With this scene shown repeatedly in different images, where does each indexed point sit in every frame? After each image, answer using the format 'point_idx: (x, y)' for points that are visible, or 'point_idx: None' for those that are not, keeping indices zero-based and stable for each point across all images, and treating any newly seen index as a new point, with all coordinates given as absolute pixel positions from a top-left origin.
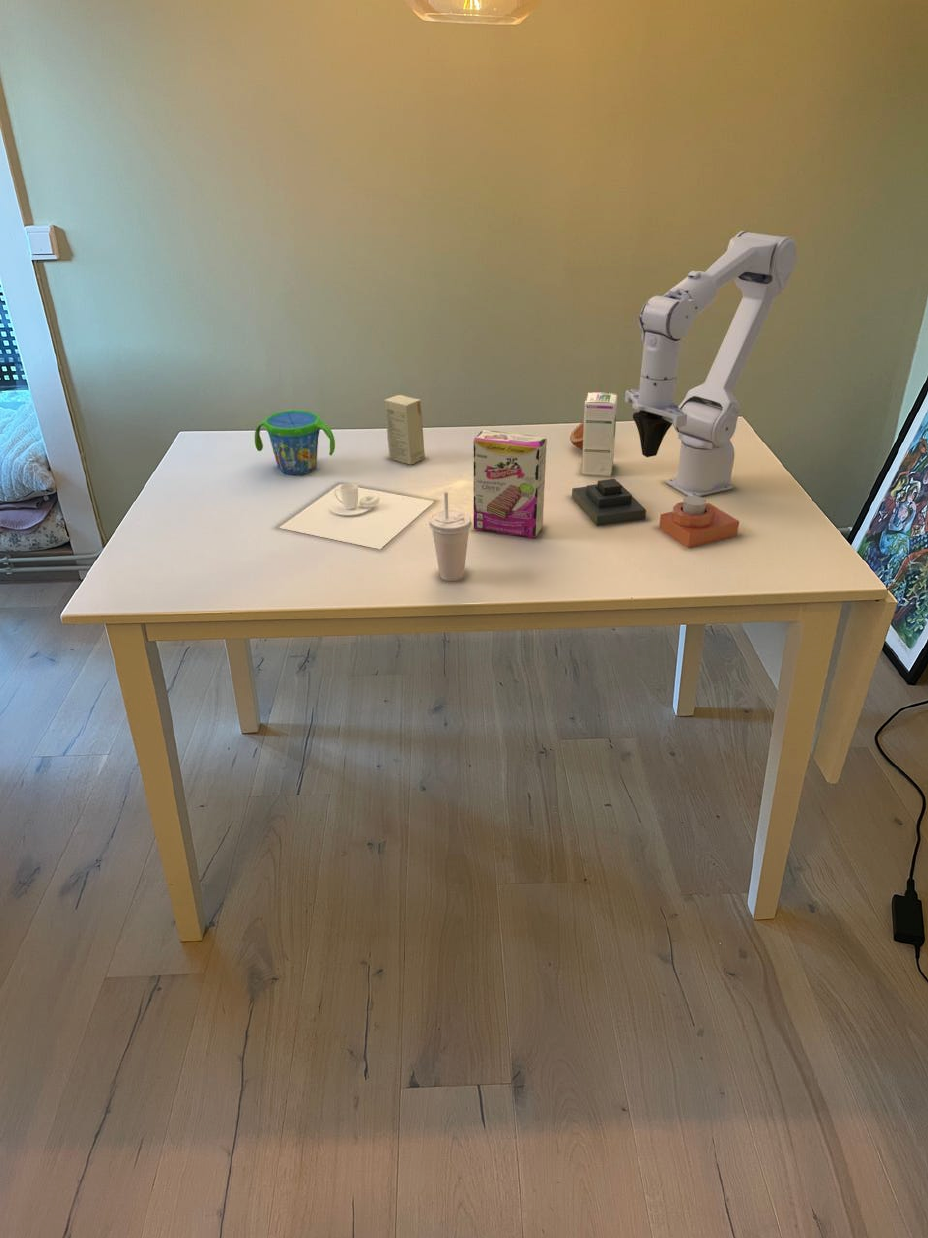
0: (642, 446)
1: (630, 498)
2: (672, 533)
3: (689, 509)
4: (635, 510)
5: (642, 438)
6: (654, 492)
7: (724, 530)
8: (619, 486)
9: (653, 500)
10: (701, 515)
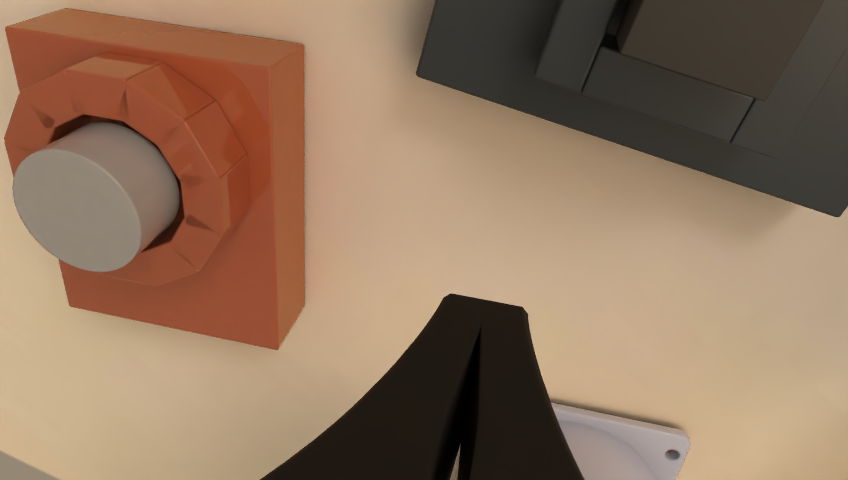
0: (500, 350)
1: (538, 60)
2: (179, 32)
3: (60, 139)
4: (442, 9)
5: (487, 415)
6: (652, 326)
7: None
8: (628, 34)
9: (584, 258)
10: None
